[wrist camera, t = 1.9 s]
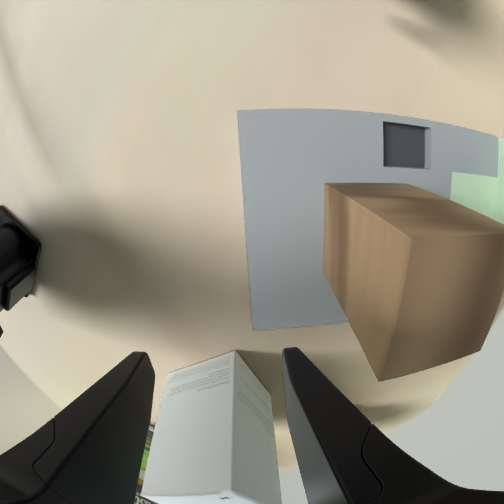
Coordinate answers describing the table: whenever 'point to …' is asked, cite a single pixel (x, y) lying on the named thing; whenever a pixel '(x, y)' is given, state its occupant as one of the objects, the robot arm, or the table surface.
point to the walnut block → (411, 273)
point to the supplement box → (213, 438)
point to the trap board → (341, 171)
